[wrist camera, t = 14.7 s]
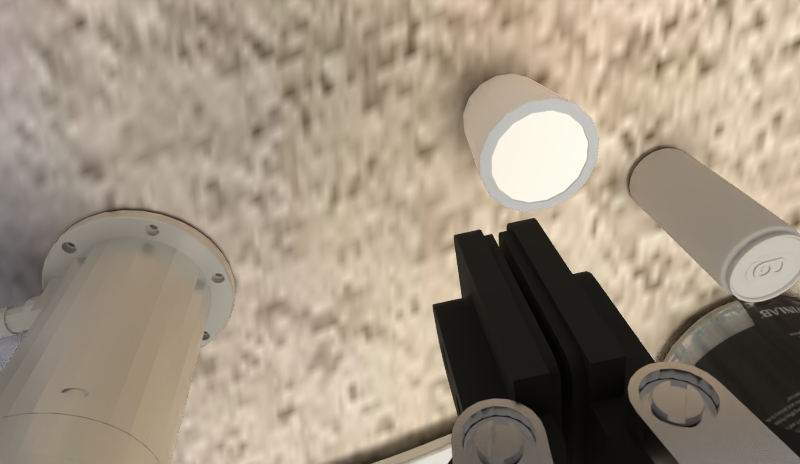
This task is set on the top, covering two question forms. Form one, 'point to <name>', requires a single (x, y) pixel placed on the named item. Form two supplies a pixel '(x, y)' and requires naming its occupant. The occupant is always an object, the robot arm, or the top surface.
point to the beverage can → (718, 225)
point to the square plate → (424, 453)
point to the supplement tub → (750, 355)
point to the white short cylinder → (528, 142)
